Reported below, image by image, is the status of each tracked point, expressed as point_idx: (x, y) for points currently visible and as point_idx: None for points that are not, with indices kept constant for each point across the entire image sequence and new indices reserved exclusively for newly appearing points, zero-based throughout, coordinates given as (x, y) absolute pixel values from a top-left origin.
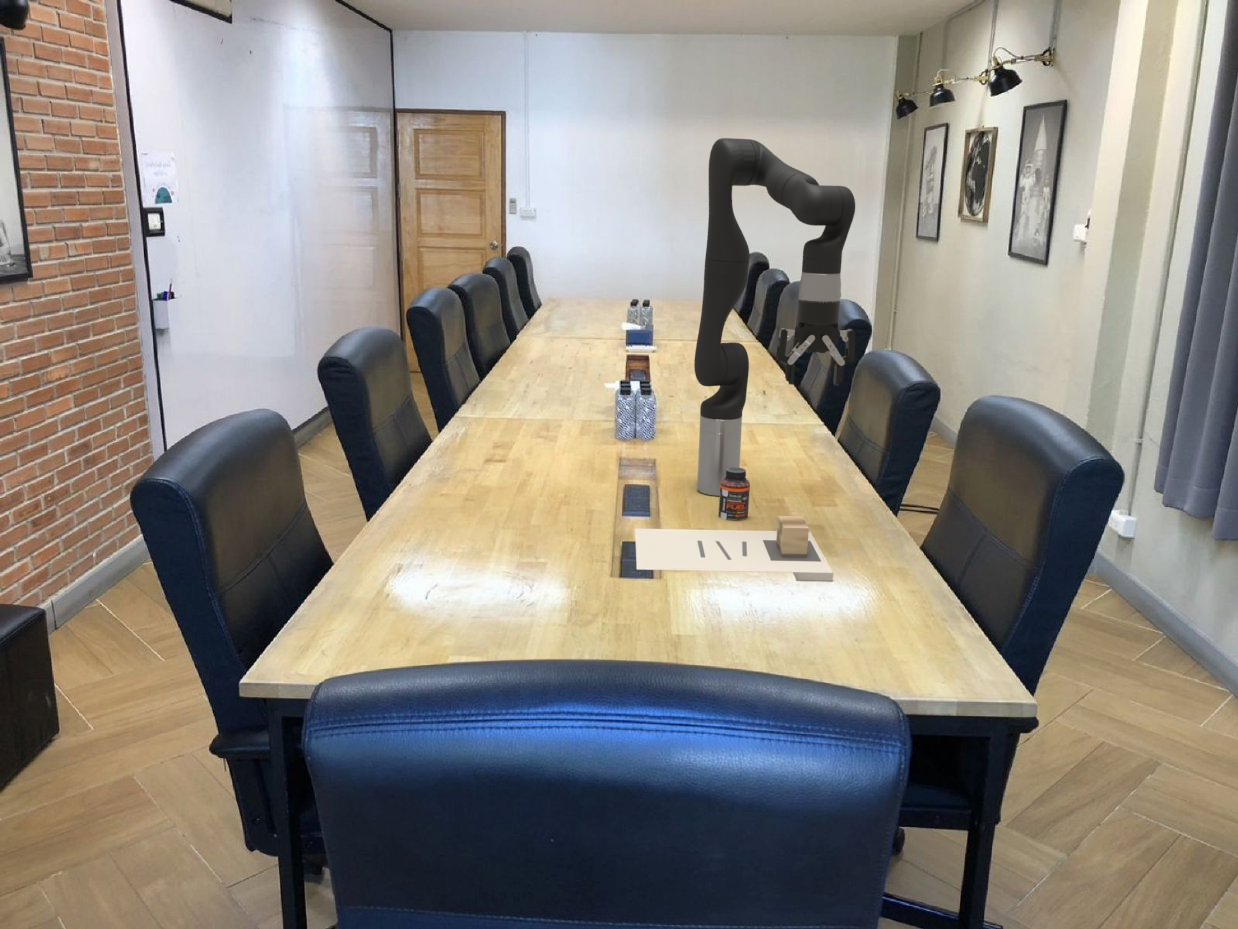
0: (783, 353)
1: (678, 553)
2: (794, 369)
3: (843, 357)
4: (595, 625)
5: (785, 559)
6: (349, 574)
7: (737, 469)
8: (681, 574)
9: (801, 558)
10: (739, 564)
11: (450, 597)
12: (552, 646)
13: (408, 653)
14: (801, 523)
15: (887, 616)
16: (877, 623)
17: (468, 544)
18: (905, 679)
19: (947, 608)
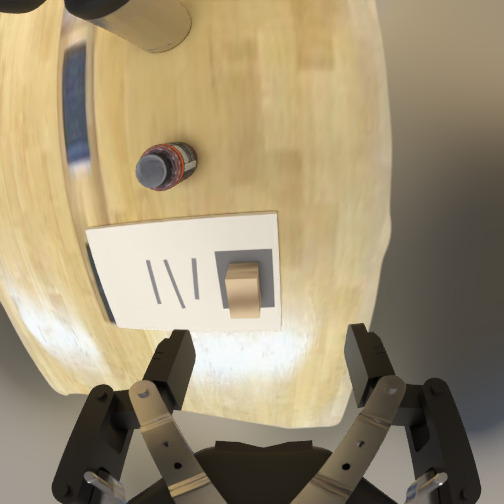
0: (124, 441)
1: (137, 295)
2: (183, 398)
3: (398, 419)
4: (127, 379)
5: None
6: (8, 310)
7: (152, 170)
8: None
9: None
10: (194, 318)
11: (52, 342)
12: None
13: (76, 386)
14: (253, 304)
15: (307, 373)
16: (297, 381)
17: (15, 263)
18: (291, 420)
19: None
